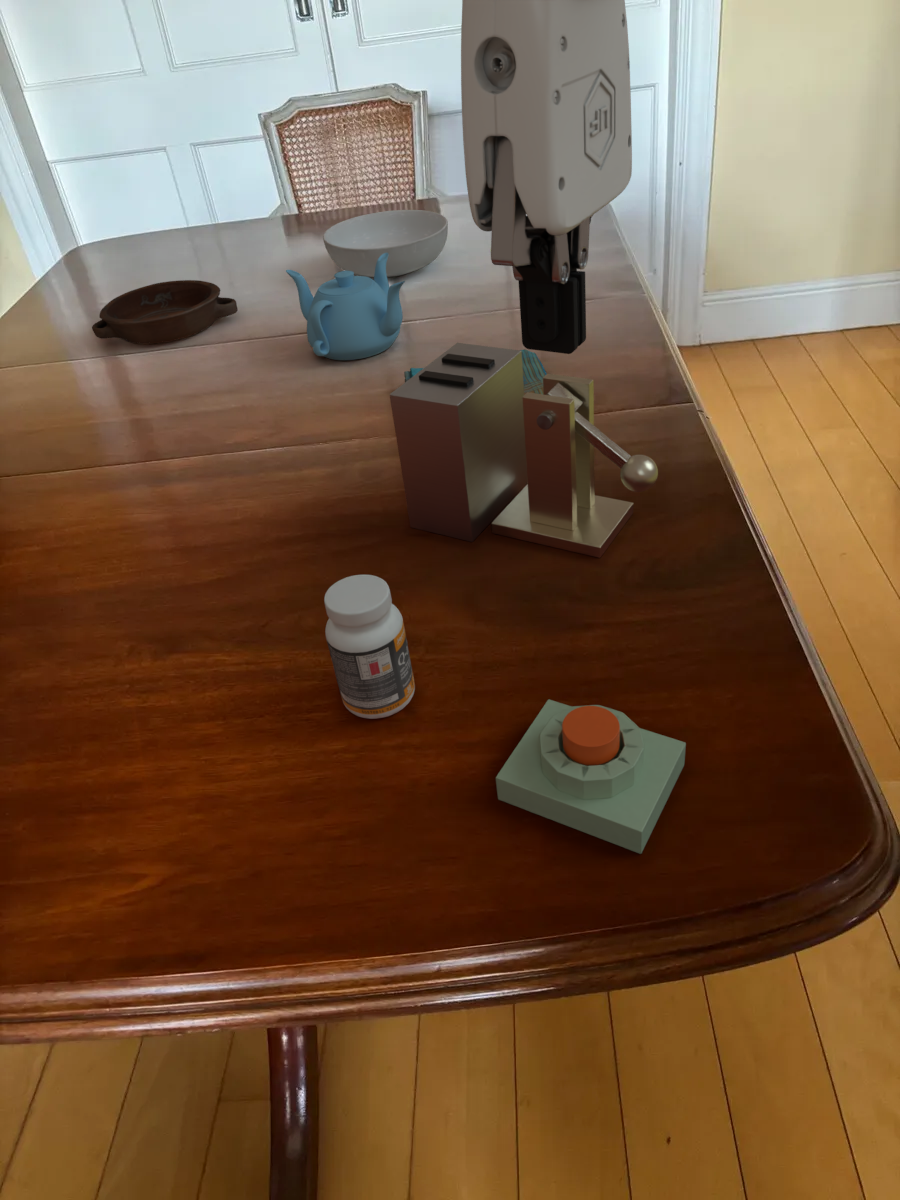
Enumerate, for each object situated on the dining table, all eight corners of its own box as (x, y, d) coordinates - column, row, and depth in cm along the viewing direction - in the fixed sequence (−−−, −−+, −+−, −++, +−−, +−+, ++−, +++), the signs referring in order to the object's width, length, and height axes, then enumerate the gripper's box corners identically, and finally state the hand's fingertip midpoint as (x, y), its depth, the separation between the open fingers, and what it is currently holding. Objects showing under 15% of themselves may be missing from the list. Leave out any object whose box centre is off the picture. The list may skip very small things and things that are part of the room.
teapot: (308, 375, 120) (292, 299, 113) (299, 336, 131) (284, 265, 125) (415, 355, 121) (405, 279, 115) (397, 318, 133) (387, 247, 127)
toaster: (529, 480, 92) (521, 346, 83) (472, 542, 84) (457, 400, 75) (470, 469, 95) (456, 338, 86) (410, 527, 87) (388, 390, 78)
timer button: (627, 734, 58) (628, 715, 57) (606, 773, 56) (606, 753, 55) (576, 718, 60) (576, 699, 59) (553, 754, 57) (552, 735, 56)
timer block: (684, 765, 60) (687, 723, 58) (641, 854, 55) (642, 812, 53) (549, 720, 65) (547, 680, 62) (497, 799, 60) (493, 758, 57)
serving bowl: (313, 292, 147) (304, 249, 142) (352, 252, 162) (345, 212, 158) (435, 289, 142) (430, 244, 137) (463, 247, 157) (459, 206, 153)
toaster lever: (649, 487, 80) (670, 464, 77) (636, 505, 77) (657, 482, 75) (545, 401, 80) (563, 376, 78) (529, 417, 78) (547, 392, 75)
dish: (99, 325, 145) (88, 295, 142) (235, 299, 148) (227, 268, 145) (95, 364, 131) (83, 331, 128) (244, 334, 135) (236, 301, 132)
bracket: (633, 513, 85) (636, 376, 77) (600, 558, 80) (599, 417, 71) (529, 492, 90) (521, 362, 82) (492, 533, 85) (479, 399, 76)
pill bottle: (426, 706, 67) (408, 602, 61) (354, 732, 66) (328, 628, 60) (401, 661, 72) (383, 560, 66) (333, 685, 70) (307, 584, 64)
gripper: (542, -48, 33) (558, 413, 44) (680, -79, 42) (664, 304, 53) (373, -31, 36) (428, 392, 47) (537, -63, 46) (550, 294, 57)
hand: (554, 345), depth 50 cm, fingers closed
